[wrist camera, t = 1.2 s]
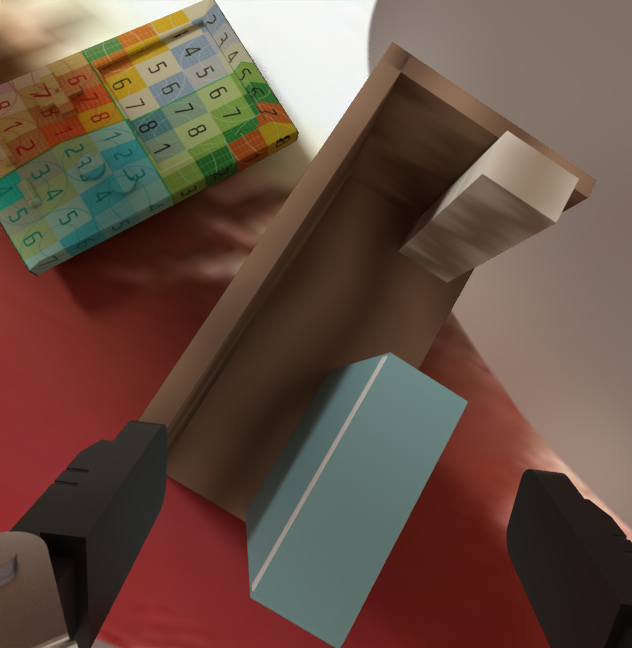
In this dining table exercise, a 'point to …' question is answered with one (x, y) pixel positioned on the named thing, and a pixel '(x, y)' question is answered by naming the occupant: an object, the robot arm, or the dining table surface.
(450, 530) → the dining table surface
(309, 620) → the rectangular block
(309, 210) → the open wooden box
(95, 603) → the robot arm
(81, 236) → the puzzle game
